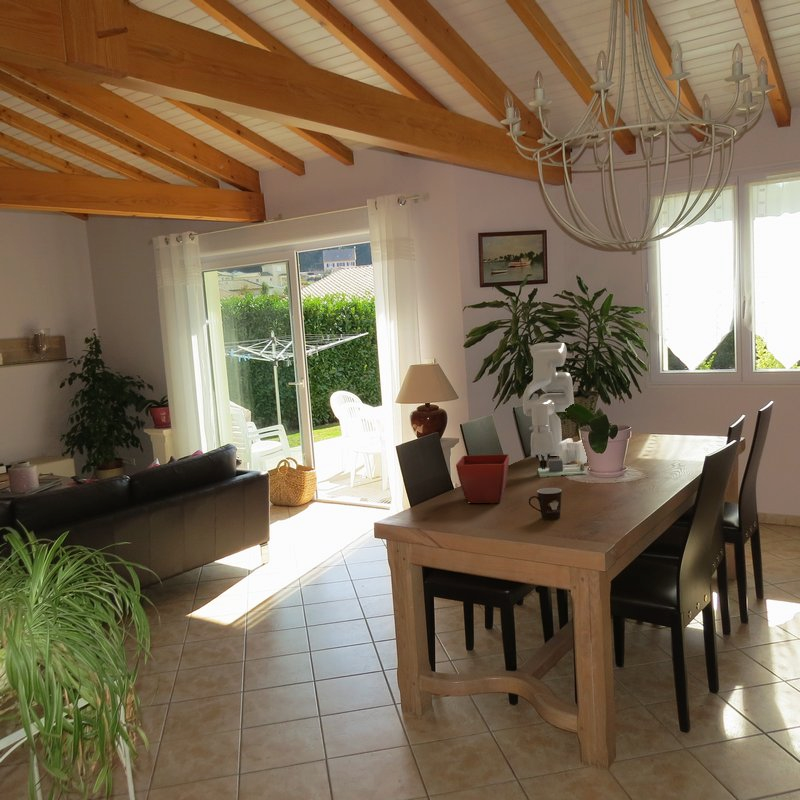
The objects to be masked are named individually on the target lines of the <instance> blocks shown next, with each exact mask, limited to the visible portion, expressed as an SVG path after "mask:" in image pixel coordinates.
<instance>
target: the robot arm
mask: <svg viewBox="0 0 800 800" xmlns="http://www.w3.org/2000/svg"><path fill="white" fill-rule="evenodd" d="M567 351H568V350H567V345H566V344H565V343H564V342H548V343H547V342H543V343H535V344H533V345H531V346H530V355H531V357H532V358H533V362H532V363H533V364H532V371H533V372H532V381H530V382H529V383H528V384H527V386H526V388H525V389H524V392H523V396H522V409H523V413H524V415H525V416H527V417H531V422H532V423H531V424H532V426H529V427H528V428H529V431H532V432H531V434H530V451H531V452H530V457H533V458H536V459H537V460H538V461H539V468H542V469H545V468H548V467H547V466H548V465H547V464H548V463H547V462H548V461H547V460H549V458H551V457H550V456H557V457H559V448H558V445H559V443H560V442H562V441H563V437H562V435H563V434H562V422H561V421H562V420H561V418H560V417H559V415H557V413H560V412H561V413H562V412H566V411H565V409H566V408H568V407H569V406H570V405H572V404H574V405H575V398H574V388H573V379H572V376H571V373H569V372H567V371H562V372H561V371H560V372H557V369H556V368H559V367H563V366H565V363H566V358H567V353H568V352H567ZM540 389H541V390H542V392H545V393H544V394H541V395H540V396H539V398H538V399H530V398H531V396H532V395H533V393H535V392H536V391H538V390H540ZM541 455H542V456H541ZM542 457H543V458H542Z"/></svg>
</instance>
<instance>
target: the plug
mask: <svg viewBox="0 0 800 800" xmlns="http://www.w3.org/2000/svg"><path fill="white" fill-rule="evenodd" d="M547 460H548V461H547V462H548V463H547V464H548V468H549V472H561V471H563V464H562V459H559V458H554V459H553V458H551V459H549V458H548V459H547Z"/></svg>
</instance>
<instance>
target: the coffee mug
mask: <svg viewBox="0 0 800 800" xmlns="http://www.w3.org/2000/svg"><path fill="white" fill-rule="evenodd" d="M562 491H563V490H562V489H561V488H557V487H545V488H544V487H543V488H540V489H538V490H537V491H536V493H537V495H533V496H530V497H529V498H528V504H529V506H530V507H531V508H532V509H535V510H536V511H538V512H540V515H541V519H542V520H544V521H558V520H560V518H561V510H562V509H561V508H562ZM532 499H537V500H538V503H539V508H537V507H536V506H534V505H532V503H531V501H532Z"/></svg>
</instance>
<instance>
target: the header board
mask: <svg viewBox="0 0 800 800" xmlns="http://www.w3.org/2000/svg"><path fill="white" fill-rule="evenodd" d="M585 470H586V469H585V463H583V462H582V461H580V460H579V465H578V464H576V463H575V464H566V465H563V471H561V472H549V467H545V469H542V467H539V468H537V471H538V476H539V477H540V478H544V477H546V478H547V476H549V477H562V476H561V475H567V476H569V475H568V474H580V473H585V474H586V471H585Z"/></svg>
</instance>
